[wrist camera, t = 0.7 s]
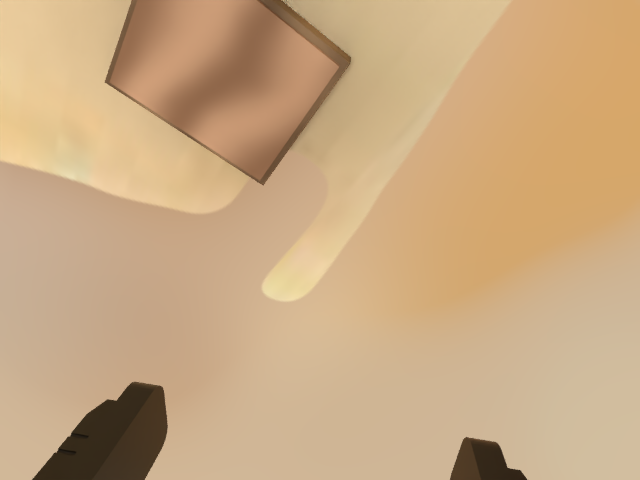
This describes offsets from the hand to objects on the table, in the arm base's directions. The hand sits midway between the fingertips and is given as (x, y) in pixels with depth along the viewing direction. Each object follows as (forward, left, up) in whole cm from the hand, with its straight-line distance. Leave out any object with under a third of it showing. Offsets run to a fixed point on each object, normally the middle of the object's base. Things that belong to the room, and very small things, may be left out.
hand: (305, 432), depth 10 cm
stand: (-9, -2, -25) cm, 27 cm away
